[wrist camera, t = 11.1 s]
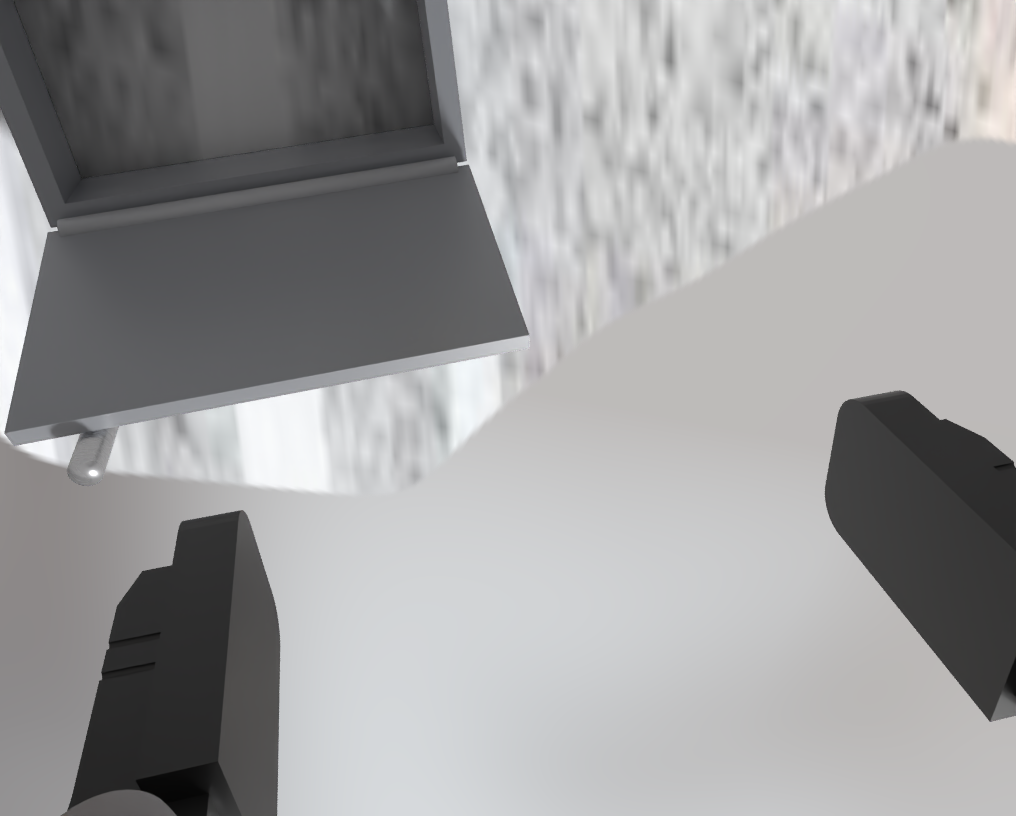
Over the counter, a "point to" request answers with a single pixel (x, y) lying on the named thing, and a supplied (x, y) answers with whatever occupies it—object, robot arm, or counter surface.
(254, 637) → the robot arm
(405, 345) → the lid
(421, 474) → the counter surface
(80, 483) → the rod
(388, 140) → the case
